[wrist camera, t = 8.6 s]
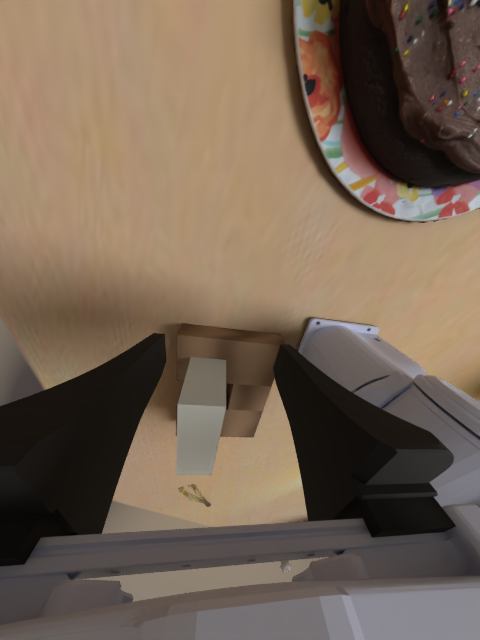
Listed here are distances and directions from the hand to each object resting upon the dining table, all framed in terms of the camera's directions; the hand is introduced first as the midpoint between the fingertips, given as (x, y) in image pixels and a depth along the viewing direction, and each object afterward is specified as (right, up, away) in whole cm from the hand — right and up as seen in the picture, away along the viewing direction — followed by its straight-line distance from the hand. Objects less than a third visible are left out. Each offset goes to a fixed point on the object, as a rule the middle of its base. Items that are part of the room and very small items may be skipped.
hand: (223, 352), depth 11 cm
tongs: (-9, -40, +32) cm, 52 cm away
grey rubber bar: (-4, -8, +11) cm, 14 cm away
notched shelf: (-1, -7, +14) cm, 16 cm away
